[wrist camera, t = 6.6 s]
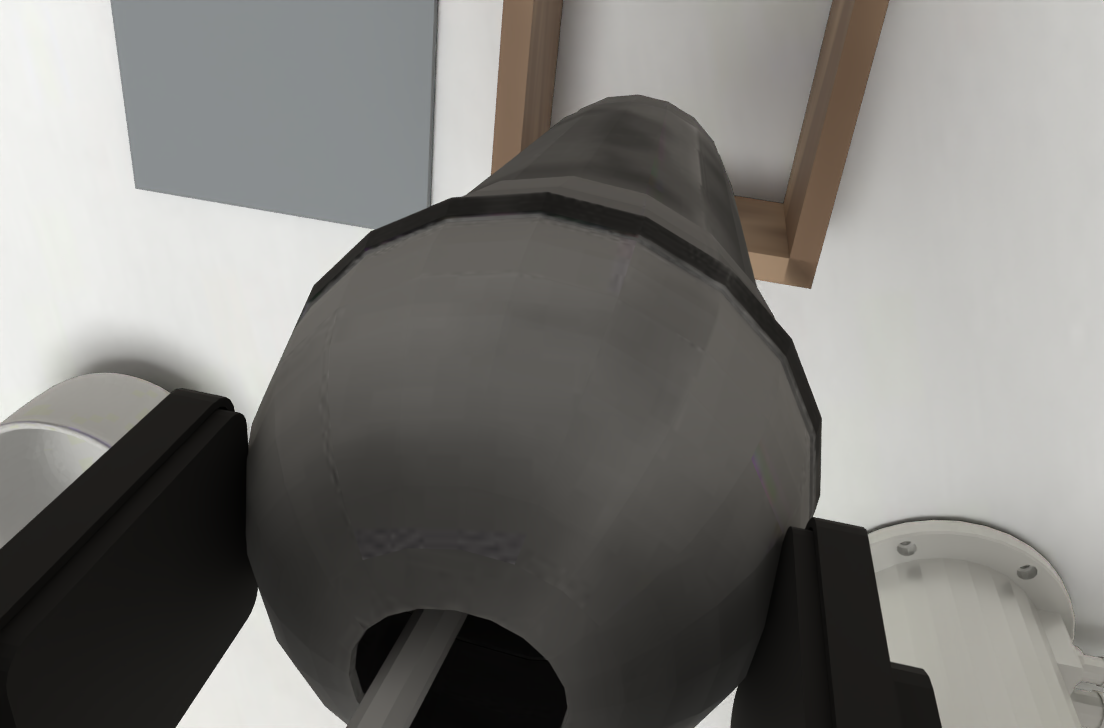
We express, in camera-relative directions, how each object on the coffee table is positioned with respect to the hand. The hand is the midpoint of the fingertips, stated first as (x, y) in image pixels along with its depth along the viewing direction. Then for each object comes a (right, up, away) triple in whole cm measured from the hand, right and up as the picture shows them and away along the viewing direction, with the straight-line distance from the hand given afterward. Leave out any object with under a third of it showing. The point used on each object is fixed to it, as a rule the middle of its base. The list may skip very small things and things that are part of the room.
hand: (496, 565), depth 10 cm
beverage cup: (+3, +7, +12) cm, 14 cm away
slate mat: (-11, +15, +28) cm, 34 cm away
